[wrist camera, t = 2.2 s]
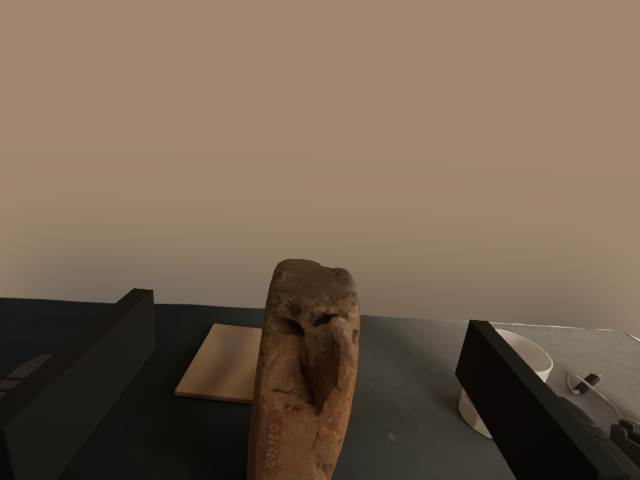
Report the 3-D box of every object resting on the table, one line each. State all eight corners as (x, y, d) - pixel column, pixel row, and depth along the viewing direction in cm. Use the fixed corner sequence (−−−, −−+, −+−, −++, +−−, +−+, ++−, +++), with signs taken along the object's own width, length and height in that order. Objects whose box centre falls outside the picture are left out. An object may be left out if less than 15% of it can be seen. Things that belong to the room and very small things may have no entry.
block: (261, 424, 35) (277, 248, 29) (331, 433, 35) (361, 259, 29) (231, 544, 25) (246, 311, 19) (330, 557, 25) (377, 328, 19)
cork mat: (174, 395, 37) (174, 391, 37) (214, 326, 51) (214, 323, 50) (349, 415, 38) (350, 411, 37) (343, 341, 51) (343, 338, 51)
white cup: (458, 434, 37) (482, 360, 34) (449, 386, 44) (468, 321, 41) (534, 456, 36) (567, 381, 32) (512, 402, 43) (537, 337, 40)
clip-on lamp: (533, 405, 47) (686, 525, 29) (536, 362, 46) (694, 459, 29) (607, 399, 48) (795, 512, 31) (611, 358, 48) (806, 448, 30)
